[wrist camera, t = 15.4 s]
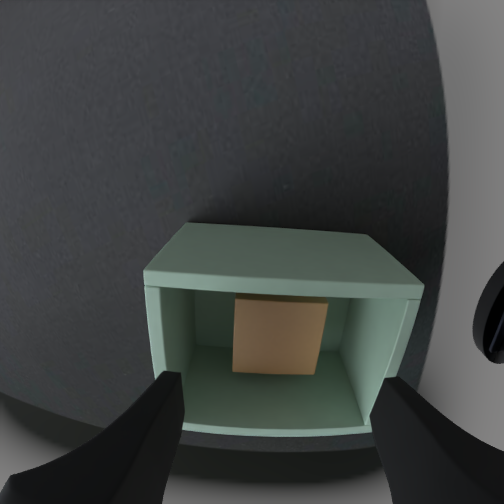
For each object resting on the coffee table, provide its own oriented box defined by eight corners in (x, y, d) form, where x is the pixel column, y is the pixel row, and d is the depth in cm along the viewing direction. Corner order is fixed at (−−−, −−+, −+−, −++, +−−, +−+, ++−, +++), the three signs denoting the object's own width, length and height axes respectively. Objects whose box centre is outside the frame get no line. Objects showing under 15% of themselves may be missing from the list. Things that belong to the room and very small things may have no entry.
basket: (185, 222, 17) (142, 269, 10) (367, 234, 17) (425, 284, 10) (189, 365, 20) (167, 446, 13) (338, 371, 20) (362, 450, 13)
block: (314, 269, 17) (328, 303, 13) (304, 332, 18) (314, 375, 14) (239, 265, 17) (234, 299, 13) (236, 329, 18) (231, 372, 14)
